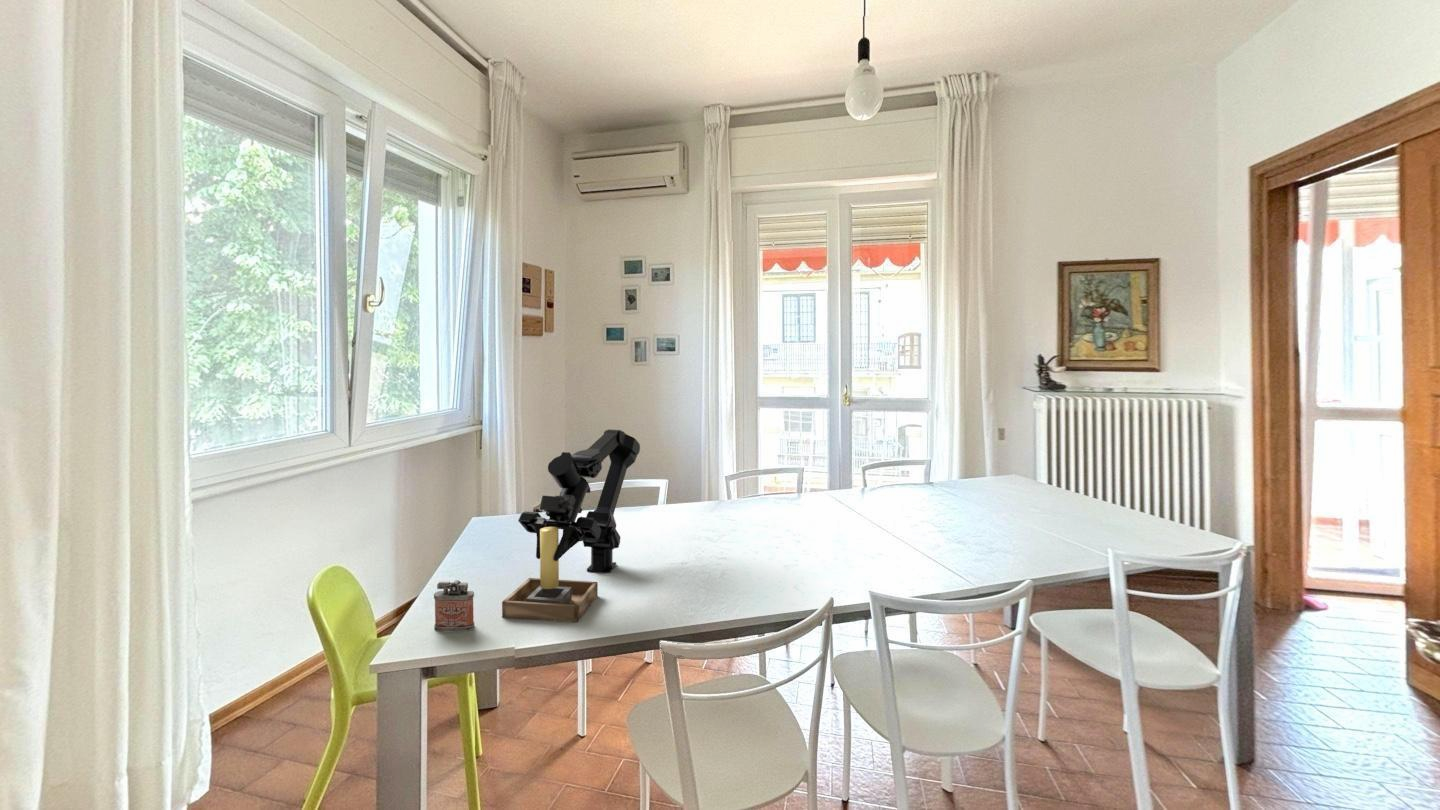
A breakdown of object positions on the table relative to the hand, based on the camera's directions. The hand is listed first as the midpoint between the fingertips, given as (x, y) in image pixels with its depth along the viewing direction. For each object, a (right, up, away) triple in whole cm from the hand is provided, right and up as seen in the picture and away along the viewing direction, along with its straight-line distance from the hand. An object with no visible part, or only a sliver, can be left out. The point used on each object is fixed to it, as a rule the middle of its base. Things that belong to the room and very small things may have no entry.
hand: (546, 559), depth 129 cm
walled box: (0, -12, +4) cm, 12 cm away
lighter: (-17, -13, -8) cm, 22 cm away
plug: (0, -6, +2) cm, 7 cm away
